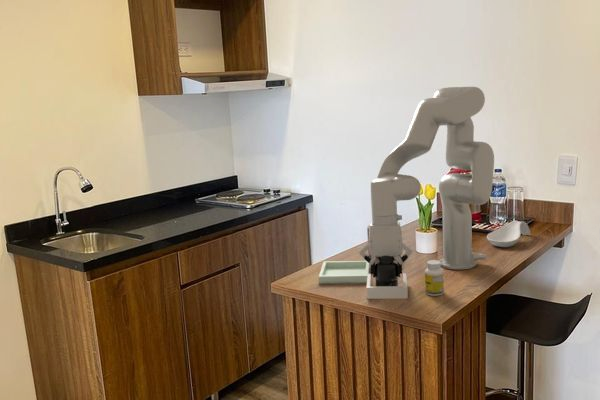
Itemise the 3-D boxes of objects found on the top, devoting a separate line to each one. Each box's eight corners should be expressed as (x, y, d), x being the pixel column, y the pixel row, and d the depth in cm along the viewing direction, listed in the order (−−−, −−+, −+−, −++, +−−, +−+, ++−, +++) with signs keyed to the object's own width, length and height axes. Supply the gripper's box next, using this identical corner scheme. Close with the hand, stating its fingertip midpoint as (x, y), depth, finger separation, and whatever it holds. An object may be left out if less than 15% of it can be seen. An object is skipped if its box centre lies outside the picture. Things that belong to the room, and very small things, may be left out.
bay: (406, 283, 183) (405, 273, 183) (407, 298, 171) (407, 287, 170) (368, 284, 185) (367, 273, 184) (366, 298, 173) (366, 287, 172)
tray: (369, 267, 202) (369, 260, 201) (368, 283, 186) (367, 275, 186) (324, 268, 204) (323, 261, 204) (319, 283, 189) (318, 276, 188)
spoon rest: (511, 252, 209) (511, 233, 208) (481, 247, 218) (480, 228, 216) (538, 237, 226) (538, 219, 224) (509, 233, 234) (509, 215, 232)
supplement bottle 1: (397, 295, 174) (396, 256, 172) (375, 294, 176) (373, 257, 173) (398, 287, 181) (397, 250, 179) (376, 286, 182) (375, 250, 180)
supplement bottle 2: (423, 290, 176) (422, 260, 175) (440, 289, 177) (439, 258, 175) (428, 297, 171) (427, 265, 169) (446, 295, 172) (445, 263, 170)
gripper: (413, 215, 176) (414, 271, 180) (356, 217, 179) (358, 272, 182) (414, 221, 169) (415, 279, 172) (355, 223, 172) (357, 280, 175)
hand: (386, 275), depth 177 cm, fingers closed on supplement bottle 1, 6 cm apart
